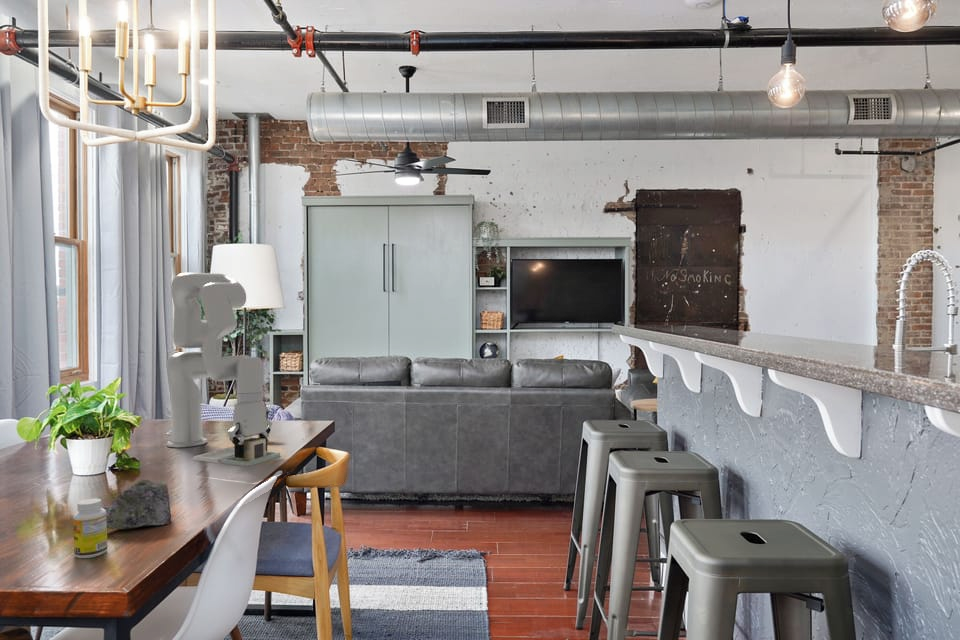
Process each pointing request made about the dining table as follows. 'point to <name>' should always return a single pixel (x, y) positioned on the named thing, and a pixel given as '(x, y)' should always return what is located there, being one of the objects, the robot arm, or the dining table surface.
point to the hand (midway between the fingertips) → (251, 454)
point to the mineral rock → (140, 506)
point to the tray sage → (242, 463)
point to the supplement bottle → (90, 529)
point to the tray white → (216, 455)
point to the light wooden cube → (253, 449)
